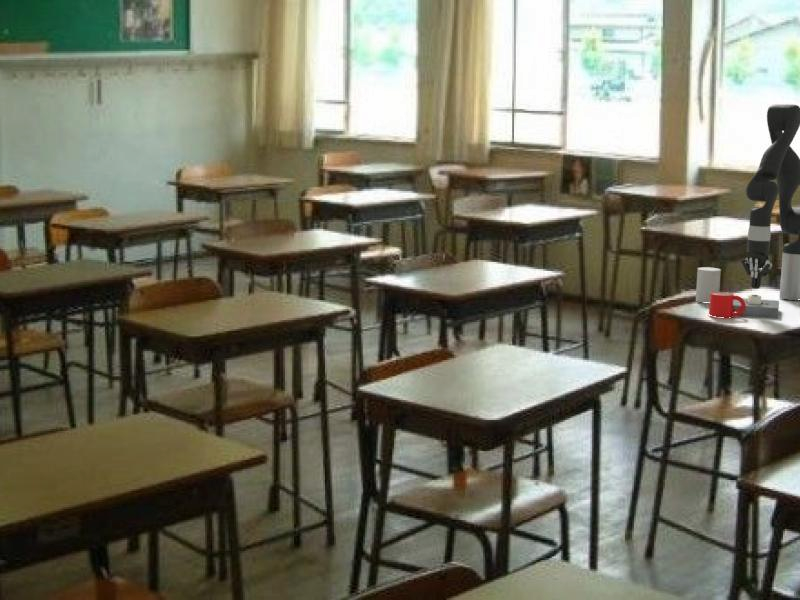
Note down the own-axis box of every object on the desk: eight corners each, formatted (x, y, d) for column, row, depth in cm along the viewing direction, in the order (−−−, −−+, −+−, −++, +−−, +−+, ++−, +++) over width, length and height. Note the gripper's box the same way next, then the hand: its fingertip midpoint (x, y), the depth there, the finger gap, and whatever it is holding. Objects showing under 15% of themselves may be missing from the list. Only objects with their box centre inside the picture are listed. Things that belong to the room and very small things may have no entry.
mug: (744, 320, 442) (745, 297, 441) (708, 317, 445) (709, 294, 444) (745, 316, 449) (746, 293, 448) (709, 313, 453) (710, 291, 451)
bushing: (752, 311, 459) (754, 293, 458) (762, 313, 455) (763, 295, 454) (744, 312, 456) (745, 294, 455) (754, 314, 453) (755, 296, 451)
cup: (720, 303, 472) (722, 270, 470) (698, 303, 472) (700, 270, 470) (715, 299, 480) (717, 267, 478) (693, 299, 480) (695, 267, 478)
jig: (731, 307, 465) (732, 297, 465) (778, 310, 461) (779, 300, 460) (729, 315, 450) (729, 305, 450) (777, 318, 446) (778, 308, 445)
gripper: (781, 240, 448) (777, 290, 450) (751, 236, 458) (748, 284, 461) (766, 241, 443) (762, 291, 446) (736, 237, 454) (733, 286, 457)
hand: (755, 288), depth 454 cm, fingers closed
